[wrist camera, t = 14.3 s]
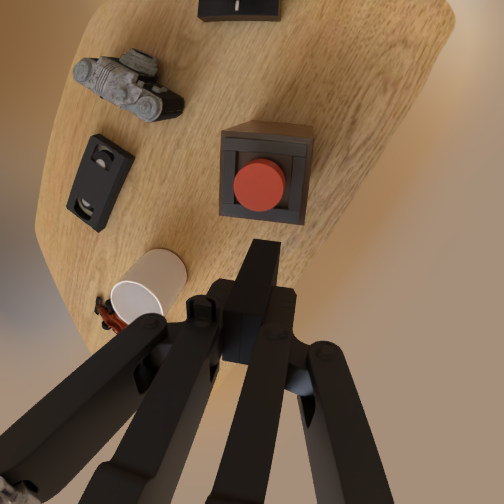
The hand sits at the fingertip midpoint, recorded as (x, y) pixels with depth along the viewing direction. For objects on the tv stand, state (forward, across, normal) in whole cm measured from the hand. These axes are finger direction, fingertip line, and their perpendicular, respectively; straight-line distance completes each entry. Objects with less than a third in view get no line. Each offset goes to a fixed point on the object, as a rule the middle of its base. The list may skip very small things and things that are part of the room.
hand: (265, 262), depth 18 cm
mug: (+27, -20, -20) cm, 39 cm away
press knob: (+11, -2, +2) cm, 11 cm away
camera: (+27, -21, +12) cm, 36 cm away
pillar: (+27, -2, +2) cm, 27 cm away
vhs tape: (+27, -30, -4) cm, 41 cm away
